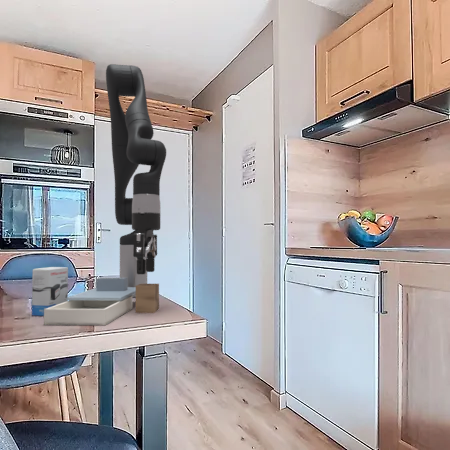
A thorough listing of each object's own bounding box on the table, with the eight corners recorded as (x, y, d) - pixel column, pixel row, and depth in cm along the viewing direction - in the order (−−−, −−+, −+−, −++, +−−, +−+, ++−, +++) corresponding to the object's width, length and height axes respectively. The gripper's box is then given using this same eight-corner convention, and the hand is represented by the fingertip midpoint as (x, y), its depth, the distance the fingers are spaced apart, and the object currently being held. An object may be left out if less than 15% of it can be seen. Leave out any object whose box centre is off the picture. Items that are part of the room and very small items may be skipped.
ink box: (47, 316, 93) (48, 269, 94) (30, 315, 94) (31, 268, 95) (68, 310, 101) (69, 266, 102) (52, 309, 102) (53, 266, 103)
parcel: (140, 309, 102) (140, 283, 102) (158, 309, 102) (159, 283, 102) (135, 312, 97) (135, 285, 97) (154, 312, 97) (154, 285, 97)
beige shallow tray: (82, 308, 103) (82, 295, 104) (132, 308, 103) (132, 295, 103) (43, 324, 84) (44, 309, 84) (105, 325, 83) (105, 309, 83)
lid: (97, 289, 114) (97, 275, 114) (142, 289, 113) (142, 275, 114) (66, 300, 94) (66, 283, 94) (121, 300, 93) (121, 283, 94)
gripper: (140, 214, 108) (140, 271, 107) (123, 210, 94) (123, 275, 93) (166, 214, 107) (165, 271, 106) (153, 209, 93) (152, 275, 92)
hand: (145, 272), depth 99 cm, fingers open, 8 cm apart
